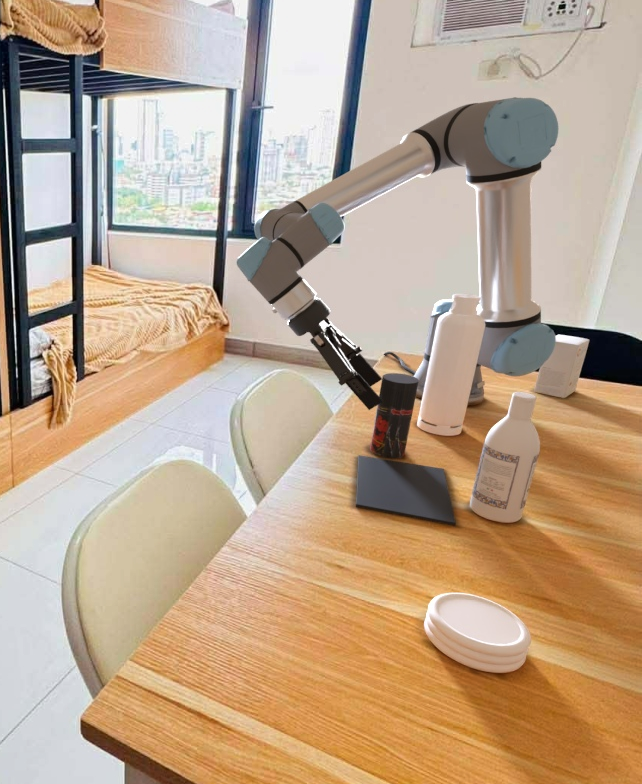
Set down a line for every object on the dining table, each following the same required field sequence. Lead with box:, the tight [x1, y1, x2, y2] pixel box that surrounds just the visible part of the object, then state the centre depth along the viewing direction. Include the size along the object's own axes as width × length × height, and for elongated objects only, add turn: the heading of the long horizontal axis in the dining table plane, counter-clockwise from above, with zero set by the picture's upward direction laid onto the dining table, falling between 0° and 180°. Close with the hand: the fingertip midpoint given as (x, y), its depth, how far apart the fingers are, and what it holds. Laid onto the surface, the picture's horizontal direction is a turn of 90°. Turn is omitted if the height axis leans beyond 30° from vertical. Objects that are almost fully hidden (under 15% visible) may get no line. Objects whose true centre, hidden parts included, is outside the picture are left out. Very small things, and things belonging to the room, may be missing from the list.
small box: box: [533, 334, 590, 399], centre depth 149 cm, size 8×6×13 cm
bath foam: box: [469, 391, 541, 524], centre depth 96 cm, size 7×7×20 cm
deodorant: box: [369, 372, 419, 459], centre depth 119 cm, size 6×6×15 cm
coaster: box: [423, 592, 532, 674], centre depth 72 cm, size 10×10×4 cm
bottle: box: [416, 293, 485, 437], centre depth 127 cm, size 8×8×28 cm
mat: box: [355, 454, 457, 527], centre depth 108 cm, size 20×14×1 cm
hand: (375, 393), depth 119 cm, fingers open, 13 cm apart
